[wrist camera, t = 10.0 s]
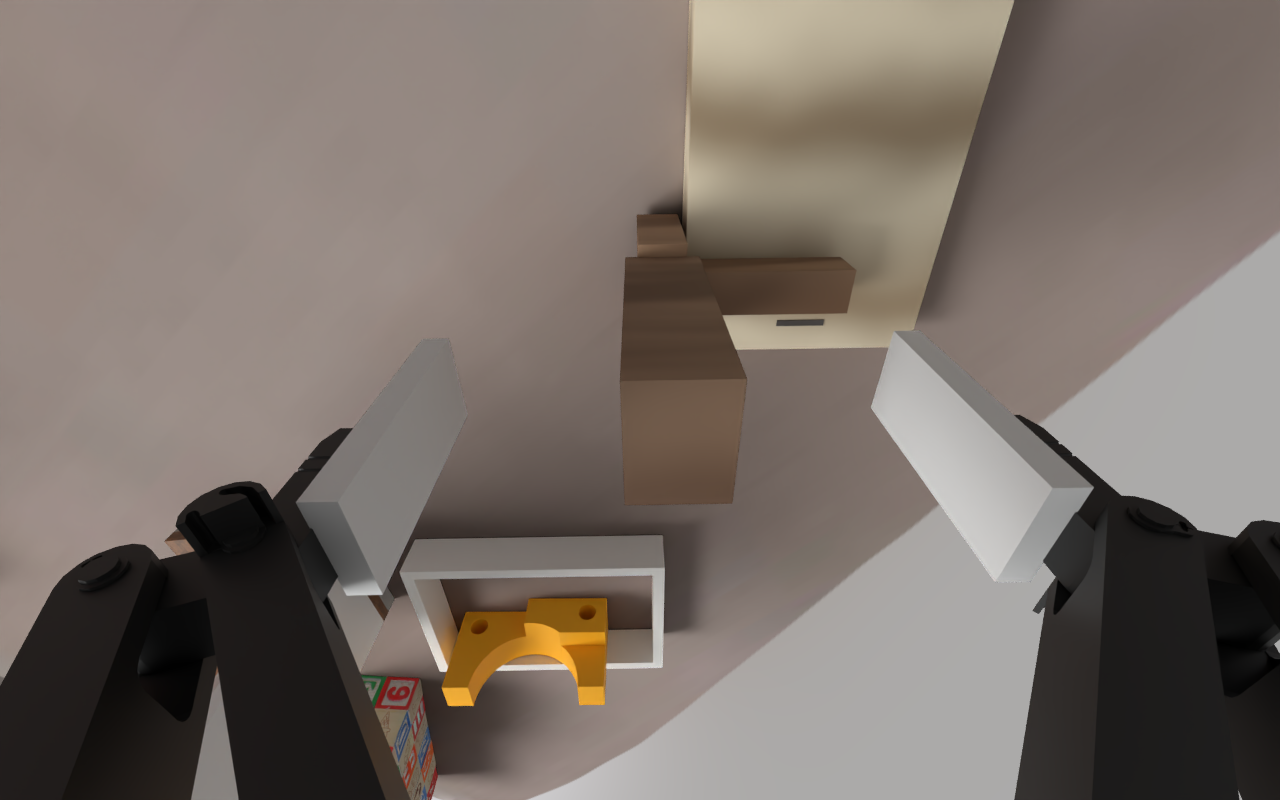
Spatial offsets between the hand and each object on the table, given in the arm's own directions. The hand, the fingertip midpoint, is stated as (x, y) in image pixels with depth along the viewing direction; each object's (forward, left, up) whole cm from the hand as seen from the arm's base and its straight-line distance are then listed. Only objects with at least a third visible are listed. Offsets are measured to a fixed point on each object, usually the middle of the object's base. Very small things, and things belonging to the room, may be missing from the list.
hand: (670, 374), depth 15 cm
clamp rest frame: (+27, -9, -13) cm, 32 cm away
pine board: (-7, +7, -13) cm, 16 cm away
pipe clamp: (+31, -10, -13) cm, 35 cm away
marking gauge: (0, +4, -12) cm, 13 cm away
